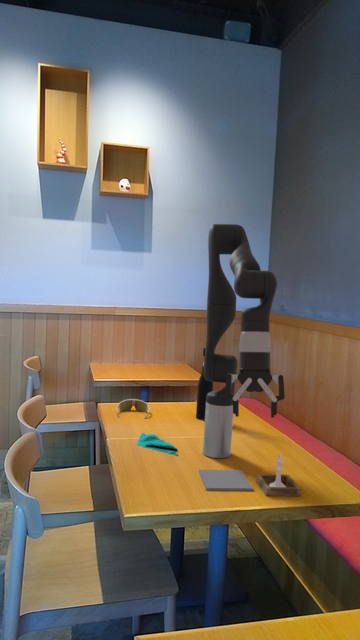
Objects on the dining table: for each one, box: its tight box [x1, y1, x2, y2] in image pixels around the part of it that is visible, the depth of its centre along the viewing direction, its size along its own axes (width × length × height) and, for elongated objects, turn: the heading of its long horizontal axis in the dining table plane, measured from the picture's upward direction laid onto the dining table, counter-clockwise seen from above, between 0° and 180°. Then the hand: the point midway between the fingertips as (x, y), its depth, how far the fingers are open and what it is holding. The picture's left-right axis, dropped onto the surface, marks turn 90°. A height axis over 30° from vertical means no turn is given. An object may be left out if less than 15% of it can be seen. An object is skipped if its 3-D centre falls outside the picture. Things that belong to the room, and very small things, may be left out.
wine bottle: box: [195, 347, 214, 421], centre depth 198 cm, size 6×6×30 cm
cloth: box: [136, 432, 179, 457], centre depth 161 cm, size 26×14×2 cm, turn 19°
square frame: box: [255, 474, 302, 497], centre depth 129 cm, size 10×10×2 cm
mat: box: [198, 469, 254, 492], centre depth 132 cm, size 13×13×1 cm
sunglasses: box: [115, 398, 150, 420], centre depth 198 cm, size 14×15×5 cm
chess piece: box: [268, 452, 287, 487], centre depth 129 cm, size 5×5×10 cm
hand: (254, 416), depth 114 cm, fingers open, 8 cm apart
